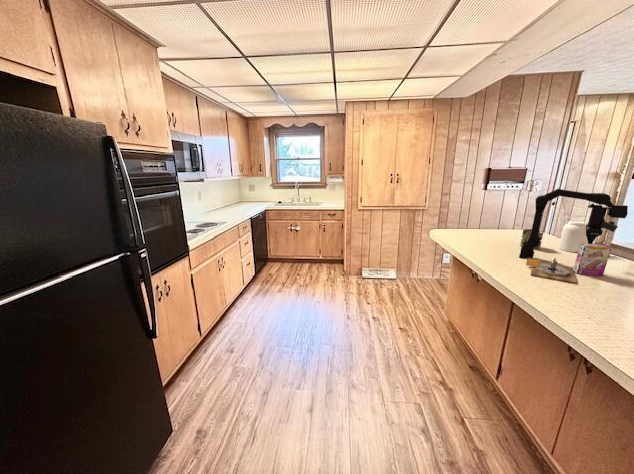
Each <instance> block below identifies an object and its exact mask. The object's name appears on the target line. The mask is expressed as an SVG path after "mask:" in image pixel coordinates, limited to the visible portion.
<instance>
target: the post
mask: <svg viewBox="0 0 634 474" xmlns="http://www.w3.org/2000/svg"><path fill="white" fill-rule="evenodd" d="M550 264H551V266H550V270H553V271H555V270H556V266H558V265H557V264H558V261H557V260H556V261H554V260H552V259H551V262H550Z"/></svg>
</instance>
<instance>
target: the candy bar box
mask: <svg viewBox="0 0 634 474" xmlns="http://www.w3.org/2000/svg"><path fill="white" fill-rule="evenodd" d="M611 251H612V247H610V246H608V245H606V244H594V243H592V244H588V243H585V244H584V243H580V246H579V250H578V252H576V253H577V254H576V256H575V257H576V258H575V261H574V264H573V268H572V270H573V273H574V274H577V275H587V276H595V277H596V276H598V277H603V276H604V273H605V270H606V266H607V263H608V260H609V257H610V254H611Z"/></svg>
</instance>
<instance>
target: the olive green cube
mask: <svg viewBox="0 0 634 474" xmlns="http://www.w3.org/2000/svg"><path fill="white" fill-rule="evenodd" d="M531 230H532V228H525V229H523V231H522V234H521V241H520V248H521V247H522V243H523V242H525V241H527V239H528V237H529V235H530V233H531ZM538 236H541V240H540V244H538V246H537V247H535V248H533V249H534V250H540V249H541V246H542V240H543V236H544V232H543V231H541V232H540V231H539V233H538Z"/></svg>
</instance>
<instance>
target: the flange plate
mask: <svg viewBox="0 0 634 474" xmlns="http://www.w3.org/2000/svg"><path fill="white" fill-rule="evenodd" d="M540 263H541V259H537V258H534V257H533V258H527V259H526V264H525V266H529V267H531V266H532V267H536V269H537V270H539V271H540V272H543V273H546V274H550V275H555V276H567V275H568V274H570V272H569V271H568V270H566V269H564V268H561V267H557V266H558V265H557V266H556V270H555V271H553V270H550V266H551V265H540Z"/></svg>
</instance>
